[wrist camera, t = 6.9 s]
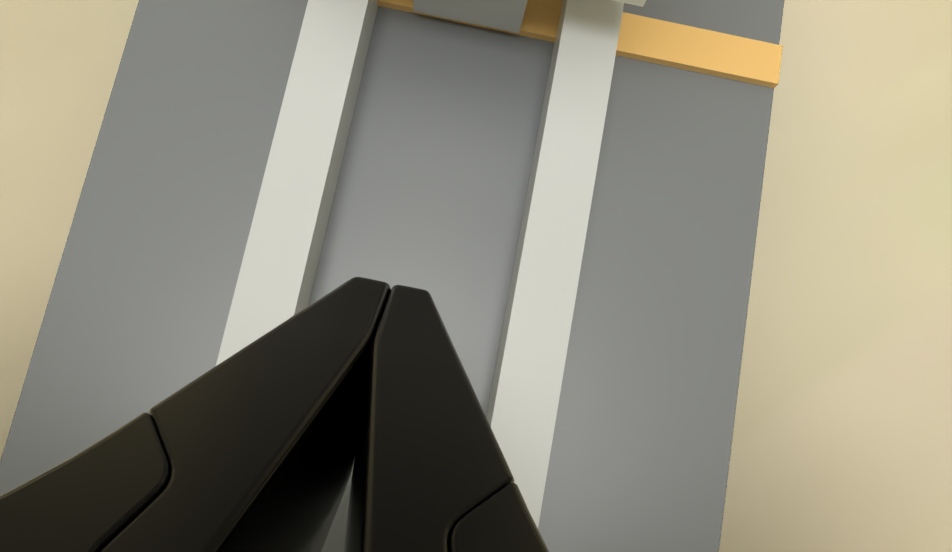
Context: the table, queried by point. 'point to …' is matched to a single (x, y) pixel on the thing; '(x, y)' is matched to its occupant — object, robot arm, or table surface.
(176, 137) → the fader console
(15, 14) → the table surface
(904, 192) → the table surface
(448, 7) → the fader handle
